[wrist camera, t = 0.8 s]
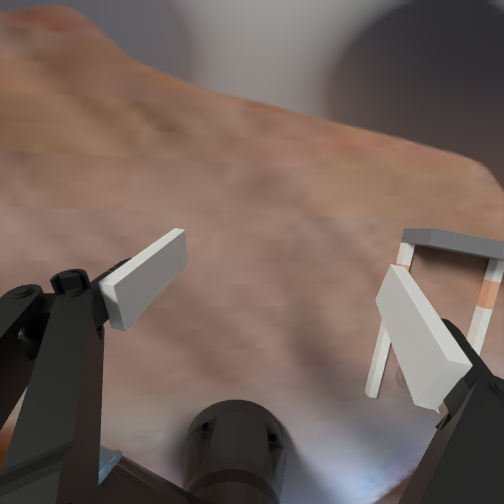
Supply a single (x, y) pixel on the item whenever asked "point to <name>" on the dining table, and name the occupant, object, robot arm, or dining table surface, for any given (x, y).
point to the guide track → (500, 261)
